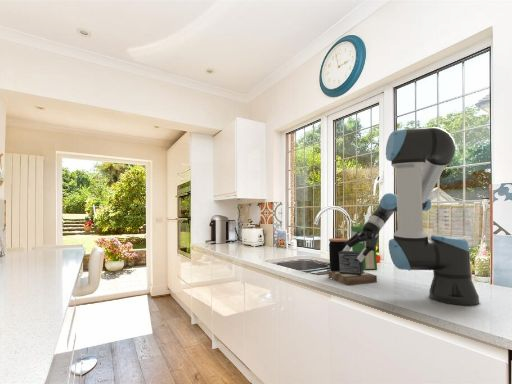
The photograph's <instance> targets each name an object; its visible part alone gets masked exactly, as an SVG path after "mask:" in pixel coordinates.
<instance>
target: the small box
mask: <svg viewBox="0 0 512 384" xmlns="http://www.w3.org/2000/svg"><path fill="white" fill-rule="evenodd" d="M360 253H361V252H356V251H352V250H350V251H340V252H338V254H339V273H342V274H353V275H362V274H363V273H364V272H365V271H364V270H363V261H362V262H360V261H359V260H358V259H357V257H358V256H359V254H360Z"/></svg>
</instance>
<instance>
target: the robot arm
mask: <svg viewBox="0 0 512 384" xmlns="http://www.w3.org/2000/svg"><path fill="white" fill-rule="evenodd" d="M455 154H456V143H455V140H454V137H453V136H452V135H451V134H450V133H449V132H448V131H447V130H445V129H443V128H440V127H436V126H435V127H434V126H433V127H432V126H431V127H421V128H420V127H419V128H418V127H417V128H404V129H398V130H396V129H395V130H394V131H392V132H391V133H390V134H389V136H388V138H387V141H386V146H385V158H386V160H387V161H389V162H390V165H391V167H392V168H394V169H395V183H396V185H395V186H396V189H395V190H396V194H394V193H391V192H389V193H385V194H384V195H383V196H381V199H380V200H379V203H378V206H377V207H376V209H375V210H374V212H373V213H372V215H371V216H370V217H369V219H368V220H367V222H366V223H364V227H363V232H361V233H360V232H359V231H358V232H357V233H356V234H355V235H354V236H353V237H352V236H351V237H350V238H349V239H348V241H346V242H345V244H346V247H345V248H344V249H343V251H351V250H352V246H354V245H356V244H357V243H359V242H362V241H366V248H364V249H363V250H362V252H361V253H360V254H359V256H358V257H357V259H358V260H359V261H360V262H362V261H363V259H364V258H365V257H366V256H367V254H368V253H369V252H370V251H371V250H372V251H374V250H375V247H376V248H377V241H378V239H379V237H380V236H379V235H378V234H379V233H380V231H381V230H382V229H383V227H384V226H385V225H386V223H387V221H388V220H389V219H390V217H392V215H393V214H394V213H397V215H396V216H397V217H396V218H397V230H396V231H395V232H394V233H393V238H391V239H389V240H388V252H389V256H390V259H391V261H392V263H393V265H394V267H395V268H396V269H398V270H406V271H432V273H433V278H432V281H431V284H430V288H429V292H428V293H429V297H430V298H431V299H433V300H434V301H437V302H441V303H444V304H451V305H457V306H459V305H460V306H475V305H478V304H479V303H480V296H479V294H478V292H477V289H476V287H475V285H474V282H473V280H472V270H471V258H470V257H471V256H470V255H471V254H470V252H471V251H470V247H469V243H468V241H467V240H466V239H463V238H460V237H452V236H445V235H433V234H432V235H430V238H429V235H428V234H427V233H426V232H425V231H424V223H423V219H424V217H423V212H427V211H429V210H430V209H431V207H432V200H431V198H430V196H431V194H432V192H433V190H434V189H435V186H436V185H437V182H438V181H439V179H440V177H441V175H442V173H443V171H444V169H445V167H446V166H448V165H449V164H451V163H452V161H453V159H454V157H455Z"/></svg>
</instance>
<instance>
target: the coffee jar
mask: <svg viewBox="0 0 512 384" xmlns="http://www.w3.org/2000/svg"><path fill="white" fill-rule="evenodd" d="M348 240H349V239H348V238H342V237H341V238H329V239H328V242H329V244H328V247H329V248H328V249H329V251H328V252H329V253H328V254H329V255H328V256H329V271H330V272H332V271H339V254H338V252H340V251H343V249H344V248H345V247H346V244H345V242H346V241H348Z"/></svg>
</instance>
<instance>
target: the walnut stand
mask: <svg viewBox="0 0 512 384" xmlns="http://www.w3.org/2000/svg"><path fill="white" fill-rule="evenodd" d="M330 278H332V279H331V280H333V279H334V280H333V281H335V280H336V282H337V283H340V284H344V285H347V286H354V285H355V286H356V285H363V284H373V283H378V277H377V275H375V274H371V273H368V272H366V271H364V273H363V274H362V275H353V274H342V273H339V271H328V279H330Z"/></svg>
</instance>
